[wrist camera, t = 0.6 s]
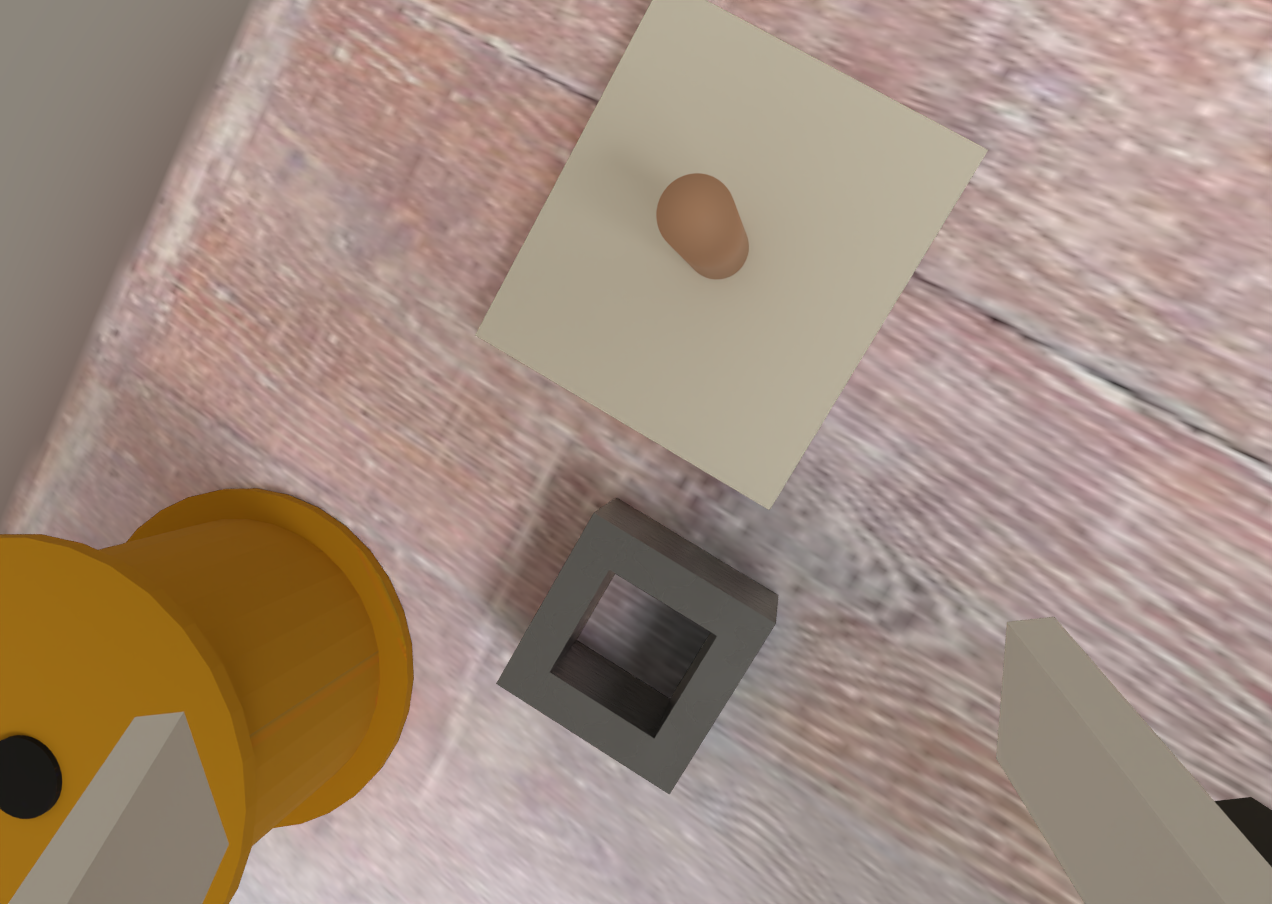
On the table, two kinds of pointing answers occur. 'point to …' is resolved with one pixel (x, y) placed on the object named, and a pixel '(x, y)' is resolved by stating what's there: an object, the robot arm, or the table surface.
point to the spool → (200, 666)
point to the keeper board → (795, 209)
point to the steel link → (608, 695)
